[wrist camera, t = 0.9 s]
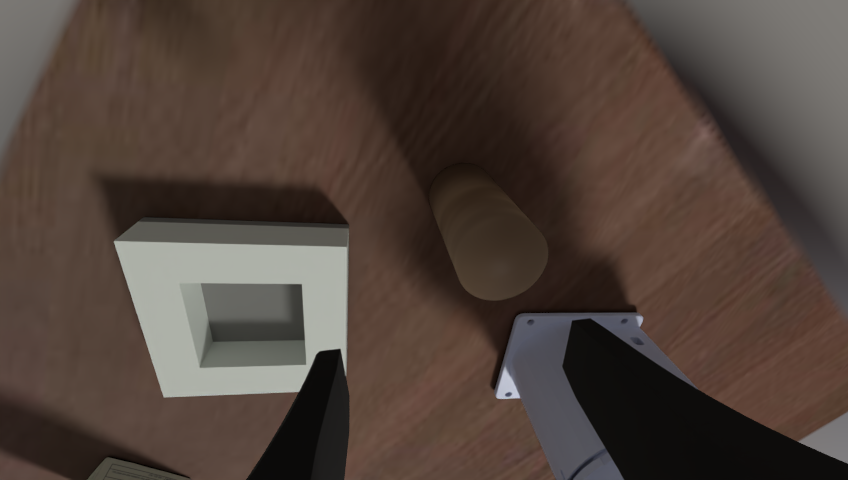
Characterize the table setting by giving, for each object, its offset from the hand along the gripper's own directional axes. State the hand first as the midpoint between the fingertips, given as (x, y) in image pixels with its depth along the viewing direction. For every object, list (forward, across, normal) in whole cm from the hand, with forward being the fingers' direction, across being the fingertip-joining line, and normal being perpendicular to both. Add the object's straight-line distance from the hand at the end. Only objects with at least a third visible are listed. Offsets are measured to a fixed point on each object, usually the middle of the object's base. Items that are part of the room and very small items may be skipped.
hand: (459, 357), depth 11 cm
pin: (+10, -2, -1) cm, 11 cm away
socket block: (+10, +9, +4) cm, 15 cm away
